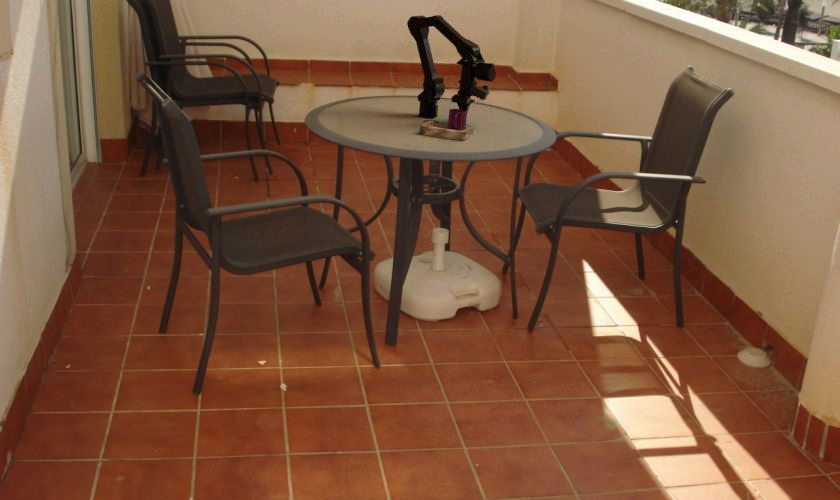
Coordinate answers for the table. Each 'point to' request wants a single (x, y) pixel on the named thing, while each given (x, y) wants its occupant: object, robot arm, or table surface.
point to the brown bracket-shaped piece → (445, 132)
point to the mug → (457, 119)
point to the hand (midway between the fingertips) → (463, 118)
